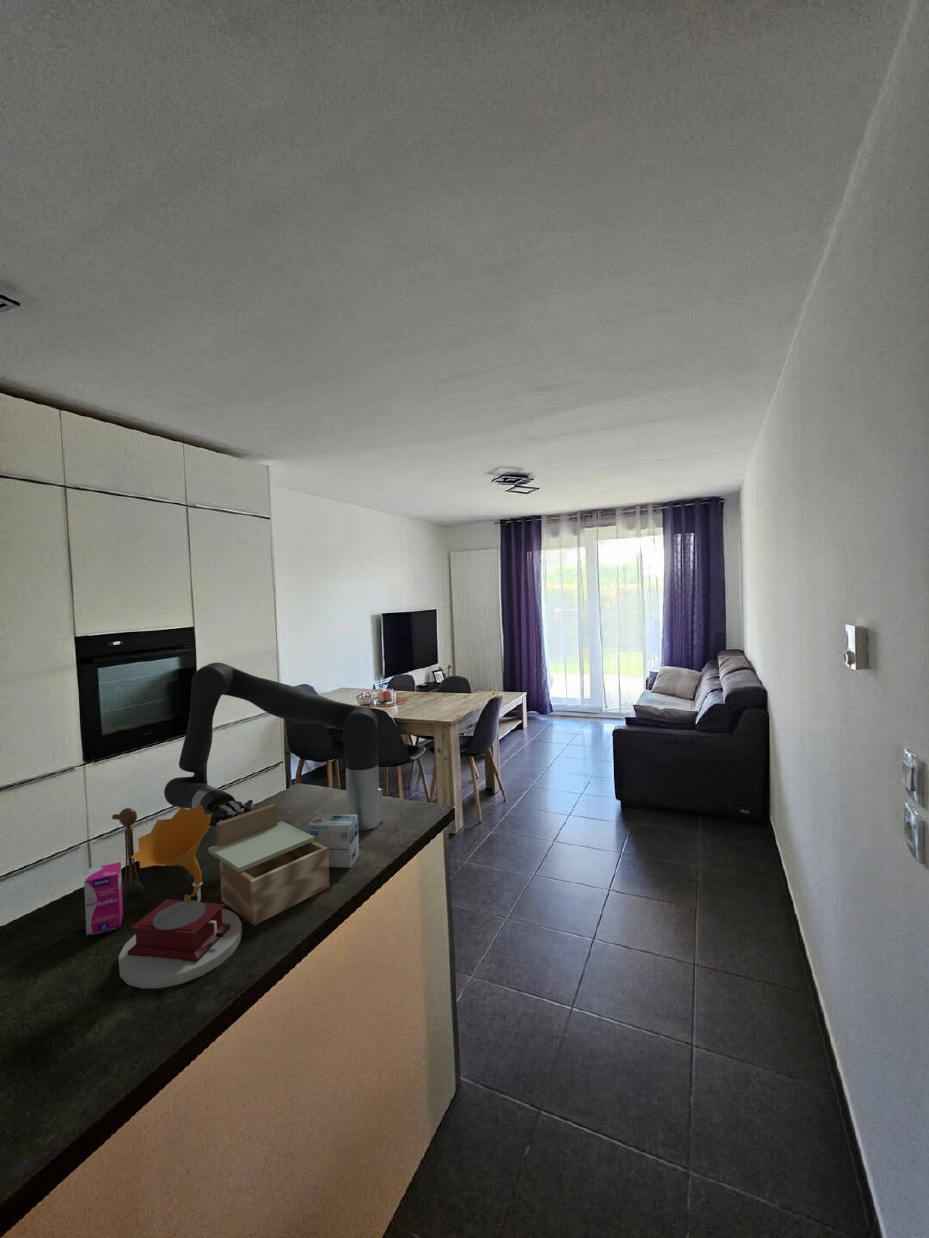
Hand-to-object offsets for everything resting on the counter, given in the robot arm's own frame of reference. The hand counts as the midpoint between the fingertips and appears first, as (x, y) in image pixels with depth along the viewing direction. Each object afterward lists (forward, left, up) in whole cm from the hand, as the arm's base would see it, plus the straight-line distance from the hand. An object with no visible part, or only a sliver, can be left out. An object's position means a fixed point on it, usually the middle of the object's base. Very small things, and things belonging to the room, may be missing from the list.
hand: (246, 821), depth 126 cm
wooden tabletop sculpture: (+21, -13, -13) cm, 28 cm away
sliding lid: (0, +7, -4) cm, 8 cm away
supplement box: (+28, -5, -13) cm, 31 cm away
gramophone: (+21, +15, -13) cm, 29 cm away
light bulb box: (-17, +10, -13) cm, 24 cm away
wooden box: (0, +12, -13) cm, 18 cm away
